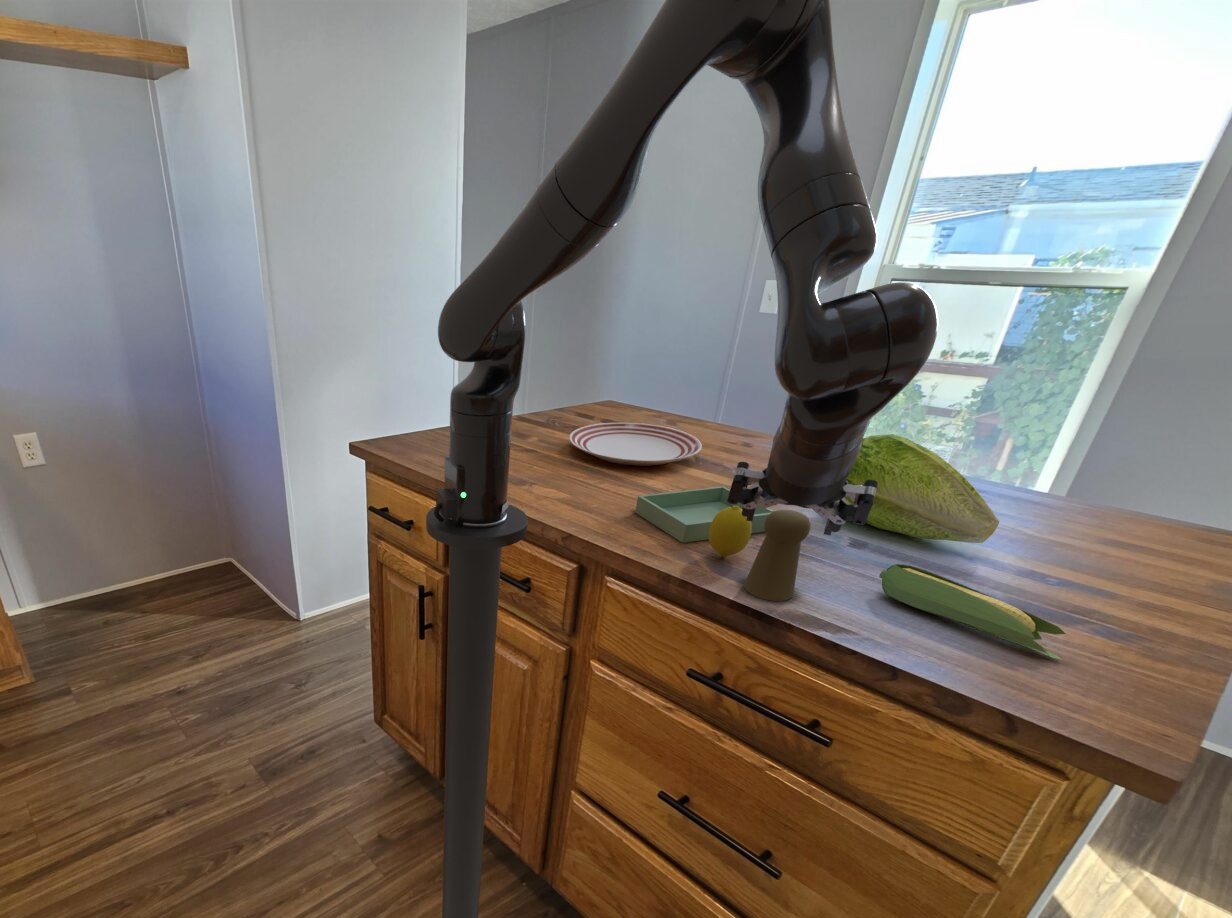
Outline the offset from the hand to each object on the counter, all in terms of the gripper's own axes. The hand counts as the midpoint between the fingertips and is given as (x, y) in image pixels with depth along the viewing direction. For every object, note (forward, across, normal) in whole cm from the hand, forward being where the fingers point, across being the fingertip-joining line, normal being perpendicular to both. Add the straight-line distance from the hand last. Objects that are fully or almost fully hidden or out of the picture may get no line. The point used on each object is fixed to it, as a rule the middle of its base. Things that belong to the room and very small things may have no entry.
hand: (789, 521), depth 80 cm
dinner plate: (+48, -32, +32) cm, 66 cm away
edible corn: (+12, +21, -4) cm, 25 cm away
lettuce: (+33, +16, +18) cm, 41 cm away
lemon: (+16, -7, 0) cm, 17 cm away
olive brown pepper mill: (+10, 0, -6) cm, 12 cm away
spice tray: (+25, -12, +9) cm, 29 cm away
